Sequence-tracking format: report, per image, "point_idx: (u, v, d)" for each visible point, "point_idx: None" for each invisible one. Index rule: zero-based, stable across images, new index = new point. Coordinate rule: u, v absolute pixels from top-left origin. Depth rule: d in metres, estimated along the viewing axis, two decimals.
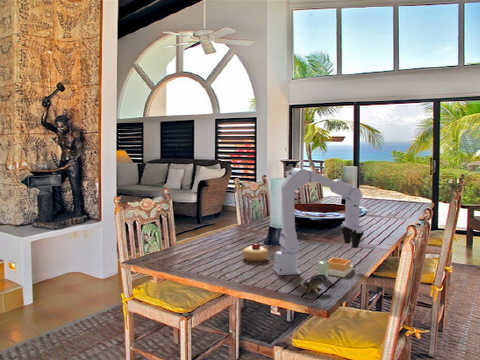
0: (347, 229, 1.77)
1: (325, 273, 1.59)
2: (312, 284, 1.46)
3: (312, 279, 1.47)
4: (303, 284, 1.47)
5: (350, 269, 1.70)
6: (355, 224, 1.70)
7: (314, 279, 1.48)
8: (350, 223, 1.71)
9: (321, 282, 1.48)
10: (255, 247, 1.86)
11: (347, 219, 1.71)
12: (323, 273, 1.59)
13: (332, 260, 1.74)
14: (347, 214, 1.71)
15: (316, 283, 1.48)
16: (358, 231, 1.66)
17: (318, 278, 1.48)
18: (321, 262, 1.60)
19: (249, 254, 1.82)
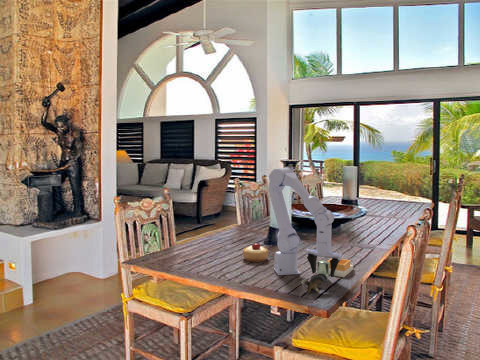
0: (314, 257, 1.62)
1: (325, 273, 1.59)
2: (313, 283, 1.47)
3: (313, 278, 1.48)
4: (304, 283, 1.48)
5: (350, 269, 1.70)
6: (330, 251, 1.59)
7: (314, 278, 1.49)
8: (327, 251, 1.58)
9: (321, 281, 1.49)
10: (255, 247, 1.86)
11: (323, 247, 1.57)
12: (323, 273, 1.59)
13: None
14: None
15: (317, 282, 1.48)
16: (340, 258, 1.56)
17: (319, 277, 1.49)
18: (321, 262, 1.60)
19: (249, 254, 1.82)
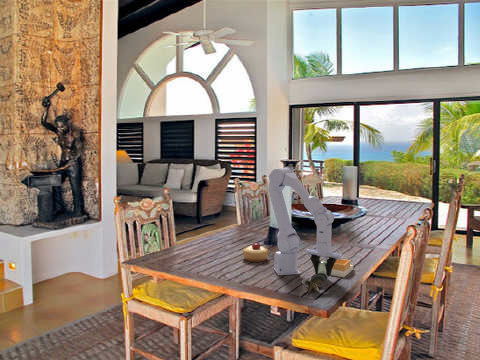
0: (317, 258, 1.62)
1: (325, 273, 1.59)
2: (313, 283, 1.48)
3: (313, 278, 1.49)
4: (304, 283, 1.48)
5: (350, 269, 1.70)
6: (330, 251, 1.59)
7: (315, 278, 1.49)
8: (327, 251, 1.58)
9: (322, 280, 1.50)
10: (255, 247, 1.86)
11: (323, 247, 1.57)
12: None
13: None
14: None
15: (317, 282, 1.49)
16: (340, 258, 1.56)
17: (319, 277, 1.50)
18: (321, 262, 1.60)
19: (249, 254, 1.82)
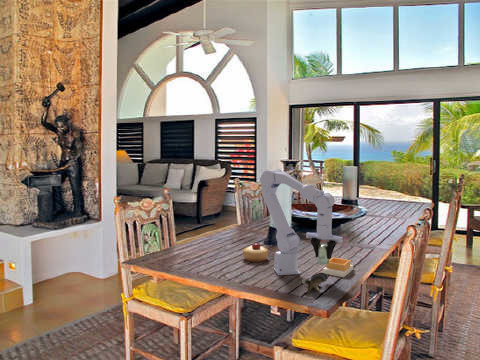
0: (318, 241, 1.61)
1: (325, 256, 1.58)
2: (313, 282, 1.48)
3: (313, 277, 1.49)
4: (304, 282, 1.49)
5: (350, 269, 1.70)
6: None
7: (315, 277, 1.50)
8: (327, 234, 1.57)
9: (322, 280, 1.50)
10: (255, 247, 1.86)
11: (324, 230, 1.57)
12: (323, 256, 1.58)
13: (332, 260, 1.74)
14: (317, 223, 1.60)
15: (317, 281, 1.49)
16: (341, 241, 1.55)
17: (319, 276, 1.50)
18: (321, 245, 1.60)
19: (249, 254, 1.82)
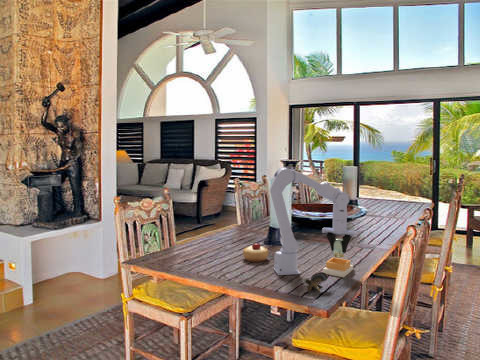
0: (333, 236, 1.71)
1: (340, 250, 1.68)
2: (313, 282, 1.49)
3: (313, 277, 1.50)
4: (304, 282, 1.49)
5: (350, 269, 1.70)
6: None
7: (315, 277, 1.50)
8: (343, 228, 1.66)
9: (322, 279, 1.51)
10: (255, 247, 1.86)
11: (340, 225, 1.66)
12: (339, 250, 1.68)
13: (332, 260, 1.74)
14: (334, 219, 1.68)
15: (317, 281, 1.50)
16: (356, 235, 1.65)
17: (319, 276, 1.51)
18: (337, 240, 1.69)
19: (250, 254, 1.82)
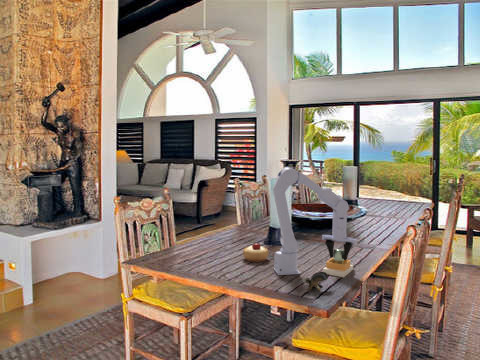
0: (332, 243, 1.71)
1: (341, 260, 1.68)
2: (314, 281, 1.50)
3: (314, 276, 1.50)
4: (305, 281, 1.50)
5: (350, 269, 1.70)
6: (345, 236, 1.68)
7: (315, 276, 1.51)
8: (343, 236, 1.67)
9: (323, 279, 1.51)
10: (255, 247, 1.86)
11: (339, 232, 1.66)
12: (339, 260, 1.68)
13: (332, 260, 1.74)
14: (333, 226, 1.68)
15: (318, 280, 1.51)
16: (355, 242, 1.65)
17: (320, 275, 1.51)
18: (337, 250, 1.70)
19: (250, 254, 1.82)
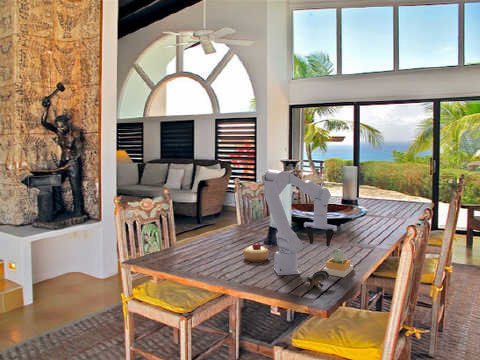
0: (312, 229, 1.79)
1: (340, 261, 1.68)
2: (315, 280, 1.51)
3: (315, 275, 1.52)
4: (306, 280, 1.51)
5: (350, 269, 1.70)
6: (326, 223, 1.76)
7: (316, 275, 1.52)
8: (323, 223, 1.74)
9: (323, 278, 1.53)
10: (256, 247, 1.86)
11: (320, 219, 1.74)
12: (338, 261, 1.68)
13: (332, 260, 1.74)
14: (317, 214, 1.74)
15: (319, 279, 1.52)
16: (335, 229, 1.73)
17: (320, 274, 1.53)
18: (337, 250, 1.70)
19: (250, 254, 1.83)
